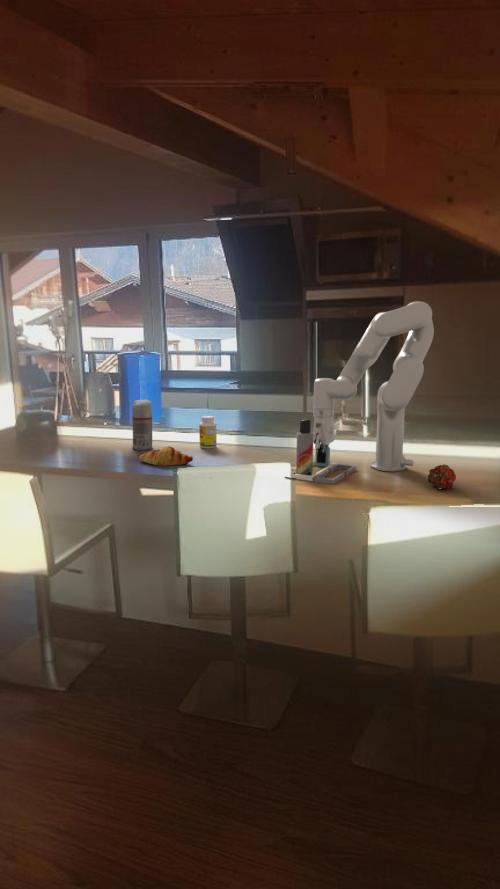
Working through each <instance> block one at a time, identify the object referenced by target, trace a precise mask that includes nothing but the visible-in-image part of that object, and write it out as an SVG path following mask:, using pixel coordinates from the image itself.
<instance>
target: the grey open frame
mask: <svg viewBox="0 0 500 889" xmlns="http://www.w3.org/2000/svg"><path fill="white" fill-rule="evenodd" d="M339 469H340V470H341V469H342V470H345V472H341V473H339V474H338V475H336V476H335V477H333V478H328V477H326V476H328V473H330V474H331V473H334V472H335V471H337V470H339ZM356 470H357V466H356V465H354V464H353V465H351V464H343V463H336V465H334V466H332V467H331V468H329V472H327V471H324V472H322V473H320V474H319V475H317V476H315V477H314V481H313V482H314V483H322V484H327V485H328V484H329V485H335V484H337V482H340V481H341V480H342V479H344V478H345V475H346V476H348V475H350V474H351V473H353V472H355V471H356Z"/></svg>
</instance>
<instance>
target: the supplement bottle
mask: <svg viewBox="0 0 500 889" xmlns="http://www.w3.org/2000/svg"><path fill="white" fill-rule="evenodd" d="M199 447H200V448H201V449H206V450H207V449H208V450H209V449H214V448H216V447H217V423H216V421H215V417H214V415H202V416H201V422H199Z"/></svg>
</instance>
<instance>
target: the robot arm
mask: <svg viewBox="0 0 500 889" xmlns="http://www.w3.org/2000/svg"><path fill="white" fill-rule="evenodd" d="M432 317H433V310H432V308H431V305H429V304H428V303H427V302H425V301H419V300H418V301H416V300H415V301H412V302H410V303H408V304H407V305H404V306H401V307H399V308H395V309H391V310H388V311H381V312H378V313H377V314H376V315H375V316H374V317H373V319H372V320H371V321H370V323H369V325H368V327H367V328H366V330H365V331H364V333H363V335H362V337H361V338H360V341H358V344H357V345H356V347H355V348H354V350H353V352H352V354H351V356H350V357H349V359H348V360H347V363H345V365H344V367H343V368H342V371H341V372H340V374H339V376H338V377H337V379H336V380H335V379H333V378H329V377H319V378H316V379H315V380H314V383H313V406H312V407H313V408H312V409H313V410H312V413H313V414H312V415H313V416H312V417H314V421H313V429H312V430H313V431H312V433H313V445H314V448H315V450H316V449H317V462H318V463H326V453H325V447H330V444H331V443H333V442H334V441H335V434H336V433H335V402H336V401H335V400H341V401H349V400H352V399H354V398H355V397H356V395H357V393H358V392H357V391H358V388H357V386H358V385H359V382H360V381H361V379H362V378H363V376H364V375H365V373H366V372H367V370H368V369H369V368H370V367H372V366H373V365H374V364H375V362H376V361H377V360H378V358H379V357H380V355H381V353H382V351H383V350H384V348H385V347H386V345H387V344H388V342H389V340H390V338H391V337H395V336H398V335H402V334H406V333H407V337H406V338H405V341H404V343H403V346H402V347H401V349H400V350H399V353H398V355H397V357H396V358H395V360H394V362H393V364H392V371H393V372H392V373H391V375H390V378H389V380H388V381H385V382H383V383H382V384H381V385H380V387H379V388H378V391H377V398H376V399H377V402H376V403H377V421H376V440H375V441H376V443H375V461H373V462H371V464H370V466H371V468H372V469H374V470H376V471H383V472H401V471H405V470H406V469H407V466H408V467H414V465H415V462H414V460H413V459H407V458H406V457H405V455H404V452H403V451H404V450H403V449H404V434H405V431H404V430H405V412H406V411H405V408H406V407H407V405H408V404H409V403H410V401H411V399H412V397H413V396H414V394H415V392H416V389H417V388H418V385H419V384H420V382H421V380H422V377H423V374H424V370H425V369H424V368H425V367H424V363H423V362H424V360H425V357H426V355H427V354H428V351H429V349H430V347H431V344H432V342H433V340H434V339H433V338H434V334H435V328H434V323H433V322H434V321H433V319H432Z"/></svg>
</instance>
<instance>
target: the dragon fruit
mask: <svg viewBox="0 0 500 889" xmlns="http://www.w3.org/2000/svg"><path fill="white" fill-rule="evenodd" d="M427 477H428V478H427V482H428V483H429V484H431V485H432V486H433V487H434V486H435V487H434V488H436V487H437V488H444V489H445V488H446V489H450V488H451V489H453V486H454V482H455V481H456V479H457V475H456V473H455V471H454V470H453V469H452V468H451V467H450V466H449V465H447V464H444V463H442V465H441V464H439V465H437V466H435V467H434V468H431V469H429V473H428V475H427ZM437 488H436V489H437Z"/></svg>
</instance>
